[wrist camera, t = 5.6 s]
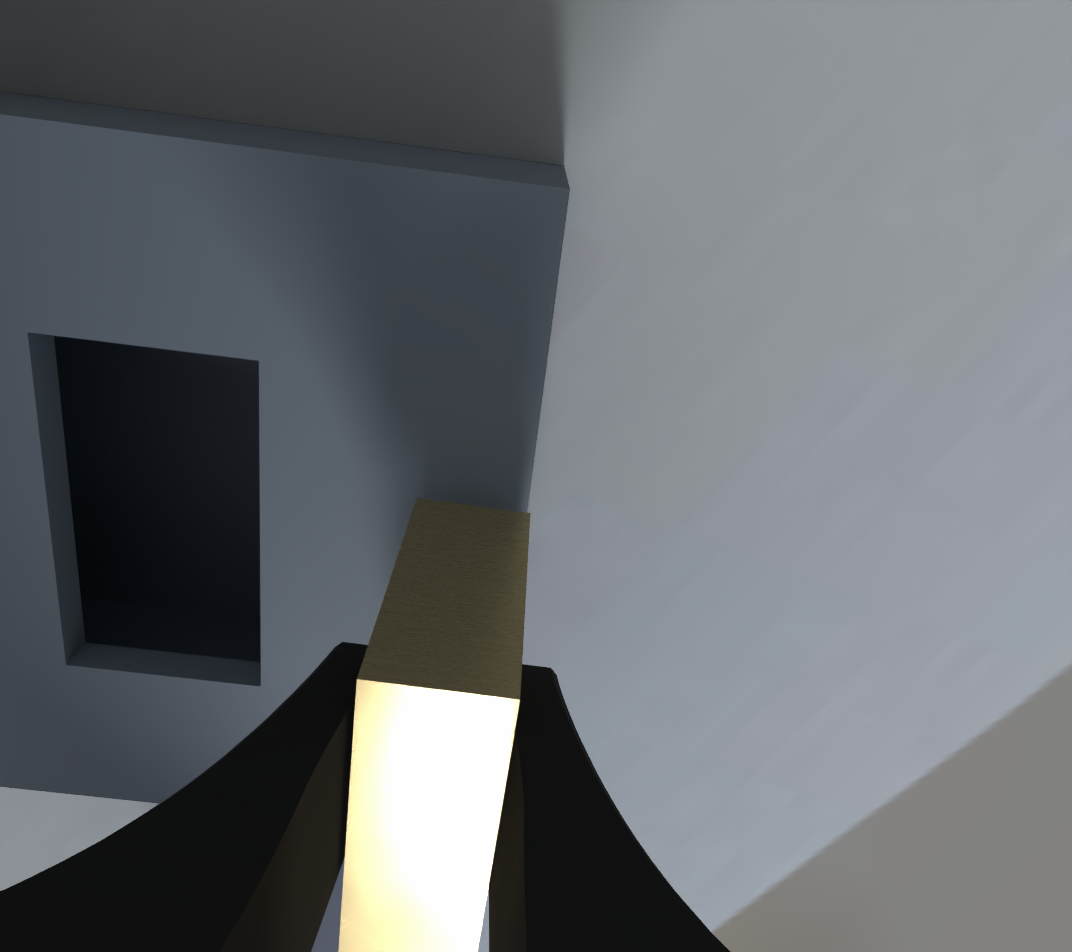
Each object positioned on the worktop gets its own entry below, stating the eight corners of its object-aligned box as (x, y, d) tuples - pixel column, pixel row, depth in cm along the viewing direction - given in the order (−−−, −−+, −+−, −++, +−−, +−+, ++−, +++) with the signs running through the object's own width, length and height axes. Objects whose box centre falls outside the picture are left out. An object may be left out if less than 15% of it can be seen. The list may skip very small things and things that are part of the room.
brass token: (495, 732, 17) (474, 968, 12) (396, 720, 17) (338, 953, 12) (530, 512, 15) (520, 699, 10) (417, 497, 15) (357, 679, 10)
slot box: (499, 665, 25) (484, 837, 19) (20, 611, 25) (-149, 770, 19) (564, 165, 20) (569, 188, 14) (-52, 84, 19) (-325, 71, 13)
